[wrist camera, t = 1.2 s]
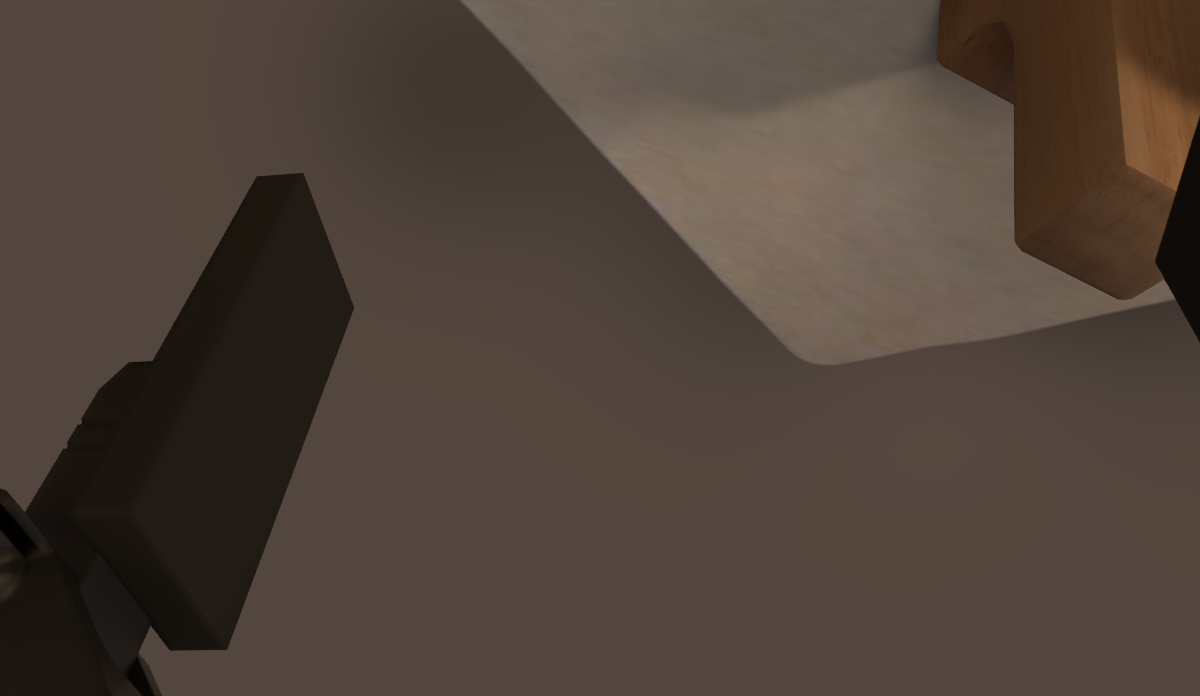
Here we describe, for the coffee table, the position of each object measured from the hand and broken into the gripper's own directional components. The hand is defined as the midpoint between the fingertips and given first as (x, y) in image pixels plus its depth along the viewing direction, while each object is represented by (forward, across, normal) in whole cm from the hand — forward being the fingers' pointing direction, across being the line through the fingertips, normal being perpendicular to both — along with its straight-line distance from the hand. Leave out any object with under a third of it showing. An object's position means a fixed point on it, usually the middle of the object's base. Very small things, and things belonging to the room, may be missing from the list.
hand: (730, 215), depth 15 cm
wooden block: (+30, +14, -9) cm, 34 cm away
